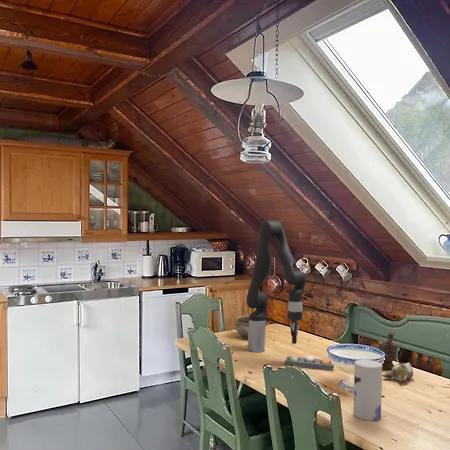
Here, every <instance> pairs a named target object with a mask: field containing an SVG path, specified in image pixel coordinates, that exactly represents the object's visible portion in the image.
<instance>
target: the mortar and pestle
mask: <svg viewBox="0 0 450 450" xmlns="http://www.w3.org/2000/svg"><path fill="white" fill-rule="evenodd" d="M394 336H395V333H394V332H392V331H390V332H388V334H387V340H380V341H379V342H378V345H379V347H378V348H379V349H380V350H381V351H383V352H384V353H385V360H384V363H383V362H382V363H383V364H382V363H381V364H382V370H386V371H391V370H392V368H393V366H395V365H396V364H394V363H393V362H394V361H395V359H396V357H397V353H398V342H395V341H393V340H394V338H395V337H394ZM379 349H378V350H379Z"/></svg>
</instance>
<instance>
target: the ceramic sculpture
mask: <svg viewBox="0 0 450 450" xmlns="http://www.w3.org/2000/svg"><path fill="white" fill-rule="evenodd" d="M394 365H395V366H393V368H392V370H387V372H386V373H385V374H382V378H383V377H384V378H386V379H393V380H395V381H397V382H399V383H401V384H402V383H406V381H407V380H408V379H409V380H411V379H413V376H414V369H413V366H412V364H411V363H410V362H406V363H404V362H401V361H399V362H398V364H394Z"/></svg>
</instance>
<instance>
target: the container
mask: <svg viewBox="0 0 450 450" xmlns="http://www.w3.org/2000/svg"><path fill="white" fill-rule="evenodd" d="M382 375H383V369H382V362H379V361H376V360H372V359H357V360H356V361H354V380H353V381H354V382H353V415H354V416H355V418H358V419H361V420H363V419H364V420H363V421H369V422H370V421H373V422H374V421H378V420H380V419H381V418H382V394H383V393H382V391H383V390H382V389H383V387H382V384H383V376H382Z"/></svg>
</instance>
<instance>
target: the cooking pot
mask: <svg viewBox="0 0 450 450" xmlns="http://www.w3.org/2000/svg"><path fill="white" fill-rule="evenodd" d="M236 319H237V320H236V323H235V324H231V326H232V327H233V328H235V330H236V331H235V332H237V333H238V335H240V336H242V337H243V338H245V339H247V340H248V332H249V315H240V316H237V317H236ZM268 325H270V322H265V329H266V327H267V326H268Z"/></svg>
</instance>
